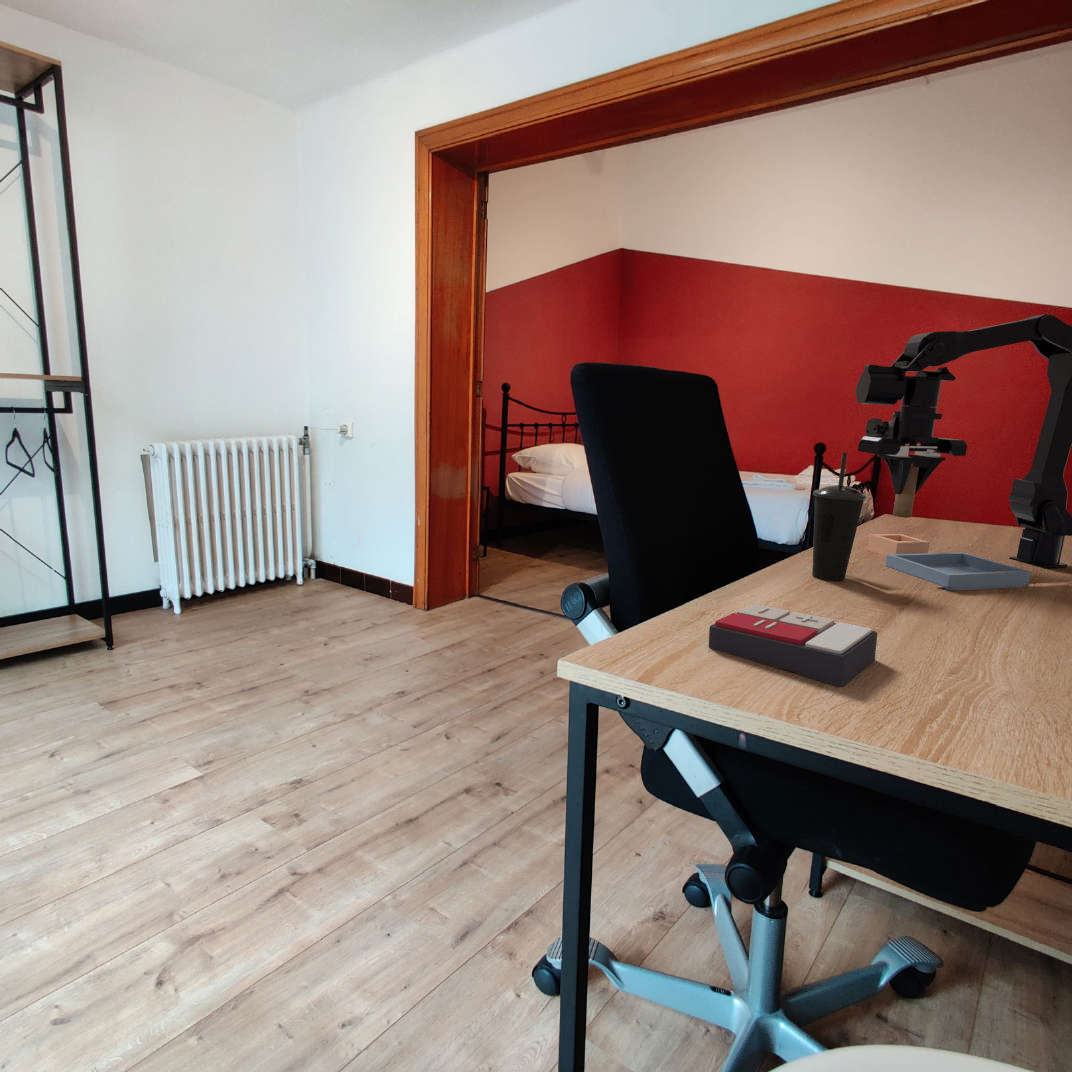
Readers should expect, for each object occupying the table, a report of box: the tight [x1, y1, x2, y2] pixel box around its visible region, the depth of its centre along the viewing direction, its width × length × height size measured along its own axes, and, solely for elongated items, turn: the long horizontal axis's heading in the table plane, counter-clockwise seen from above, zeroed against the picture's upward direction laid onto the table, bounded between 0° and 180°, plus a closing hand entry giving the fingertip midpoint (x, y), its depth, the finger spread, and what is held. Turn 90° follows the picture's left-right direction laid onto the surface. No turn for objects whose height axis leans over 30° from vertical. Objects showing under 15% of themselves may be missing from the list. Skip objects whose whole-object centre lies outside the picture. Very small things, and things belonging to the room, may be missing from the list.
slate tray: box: [885, 551, 1032, 592], centre depth 116 cm, size 16×13×2 cm
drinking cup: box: [811, 452, 867, 582], centre depth 111 cm, size 8×8×20 cm
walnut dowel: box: [892, 465, 919, 519], centre depth 127 cm, size 3×3×9 cm
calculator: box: [708, 603, 878, 688], centre depth 79 cm, size 11×4×15 cm
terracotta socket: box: [866, 533, 930, 558], centre depth 129 cm, size 7×7×4 cm
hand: (905, 494), depth 127 cm, fingers closed on walnut dowel, 3 cm apart
